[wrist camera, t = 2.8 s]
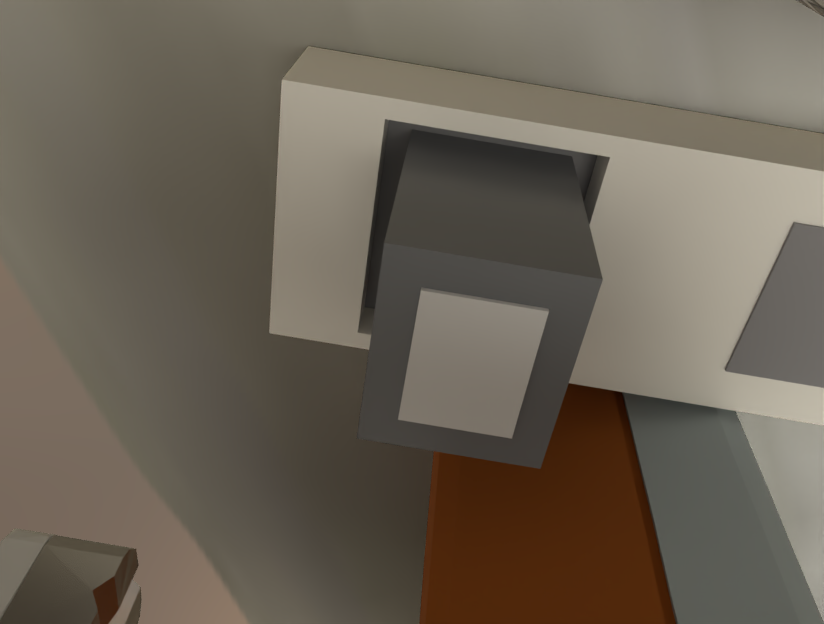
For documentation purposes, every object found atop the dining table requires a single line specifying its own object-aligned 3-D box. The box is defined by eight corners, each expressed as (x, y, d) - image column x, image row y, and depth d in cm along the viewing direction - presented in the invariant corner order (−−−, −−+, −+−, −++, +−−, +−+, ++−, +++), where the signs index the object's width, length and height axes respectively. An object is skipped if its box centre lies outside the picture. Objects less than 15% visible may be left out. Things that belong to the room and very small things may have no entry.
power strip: (1185, 427, 24) (1287, 516, 21) (293, 277, 23) (263, 345, 20) (1374, 227, 20) (1533, 300, 17) (308, 45, 20) (275, 87, 17)
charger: (528, 316, 21) (540, 472, 16) (387, 292, 21) (356, 441, 16) (572, 156, 19) (603, 282, 14) (412, 129, 19) (383, 245, 14)
